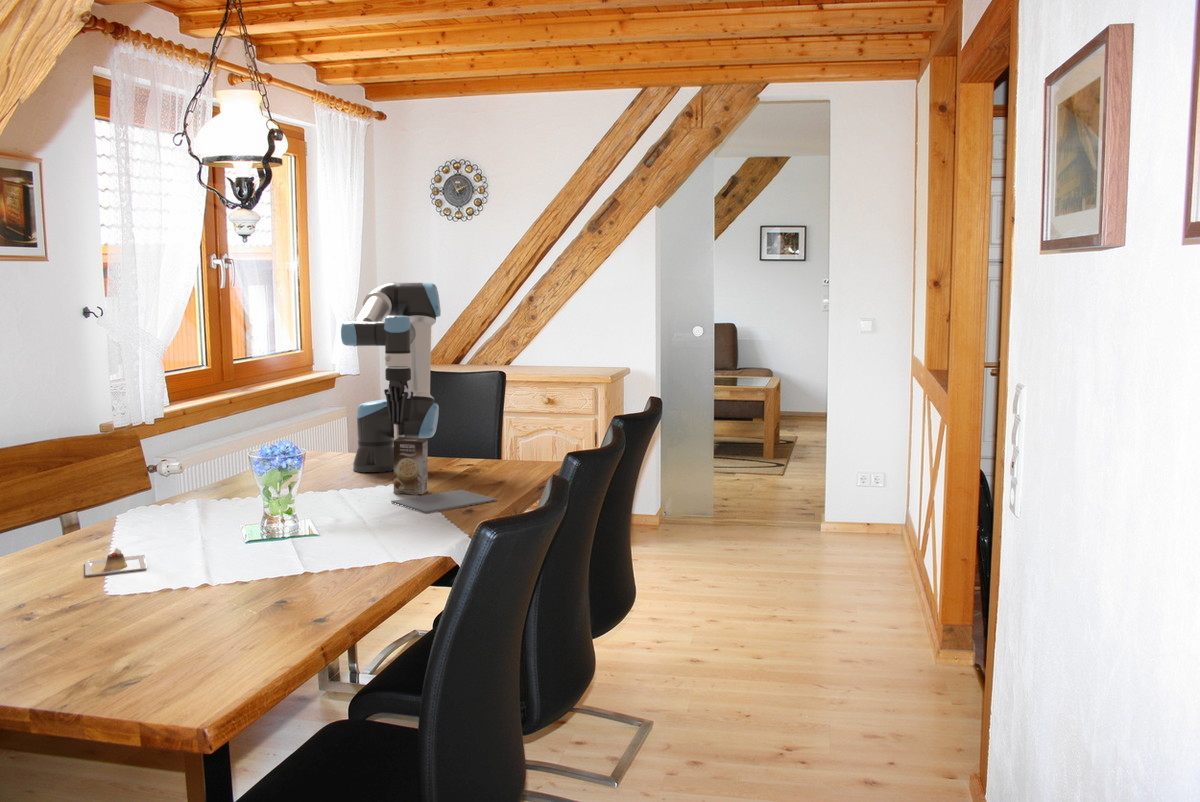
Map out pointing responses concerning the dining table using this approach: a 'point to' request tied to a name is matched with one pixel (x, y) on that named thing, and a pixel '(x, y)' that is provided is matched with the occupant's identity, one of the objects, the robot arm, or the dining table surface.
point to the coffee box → (410, 465)
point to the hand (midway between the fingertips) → (399, 445)
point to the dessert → (115, 563)
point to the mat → (444, 501)
